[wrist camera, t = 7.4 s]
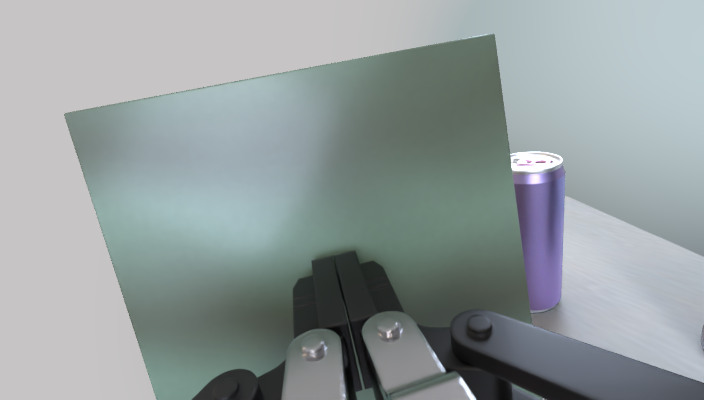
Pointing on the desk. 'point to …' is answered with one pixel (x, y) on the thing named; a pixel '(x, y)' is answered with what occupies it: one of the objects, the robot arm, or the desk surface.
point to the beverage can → (541, 224)
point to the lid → (304, 202)
